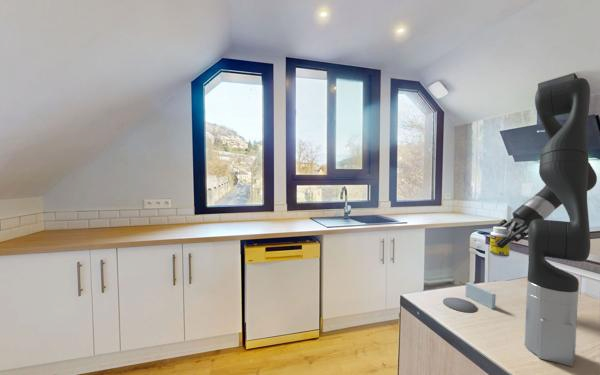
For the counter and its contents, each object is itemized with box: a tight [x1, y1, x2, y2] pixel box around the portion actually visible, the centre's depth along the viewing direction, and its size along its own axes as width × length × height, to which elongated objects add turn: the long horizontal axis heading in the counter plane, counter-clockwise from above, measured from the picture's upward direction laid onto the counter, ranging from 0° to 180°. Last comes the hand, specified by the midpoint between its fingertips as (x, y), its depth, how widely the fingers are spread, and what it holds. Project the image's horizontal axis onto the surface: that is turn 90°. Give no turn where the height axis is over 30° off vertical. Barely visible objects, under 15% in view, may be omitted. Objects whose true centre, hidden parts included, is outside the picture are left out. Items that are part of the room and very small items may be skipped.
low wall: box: [465, 282, 497, 310], centre depth 93 cm, size 10×2×5 cm, turn 15°
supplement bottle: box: [489, 226, 511, 258], centre depth 94 cm, size 6×6×10 cm
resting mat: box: [442, 297, 478, 313], centre depth 91 cm, size 10×10×1 cm
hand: (494, 243), depth 95 cm, fingers closed on supplement bottle, 5 cm apart
